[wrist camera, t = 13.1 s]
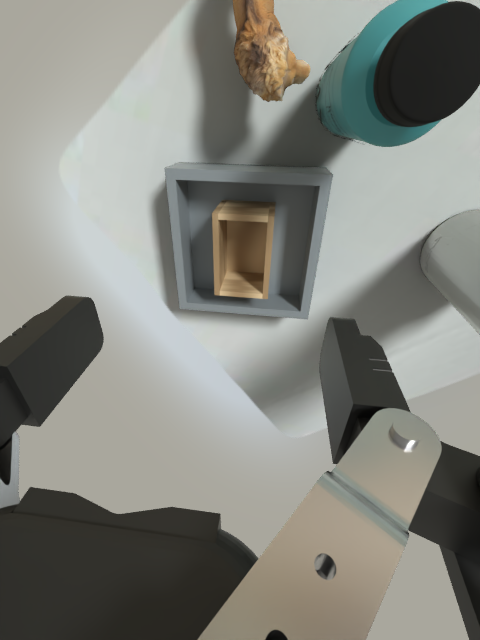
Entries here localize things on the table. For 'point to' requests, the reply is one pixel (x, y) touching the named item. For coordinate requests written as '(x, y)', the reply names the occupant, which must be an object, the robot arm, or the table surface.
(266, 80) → the lion figurine
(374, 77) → the beverage bottle
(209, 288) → the grey square tray
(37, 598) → the robot arm
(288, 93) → the table surface
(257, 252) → the small oak crate
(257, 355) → the table surface
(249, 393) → the table surface
